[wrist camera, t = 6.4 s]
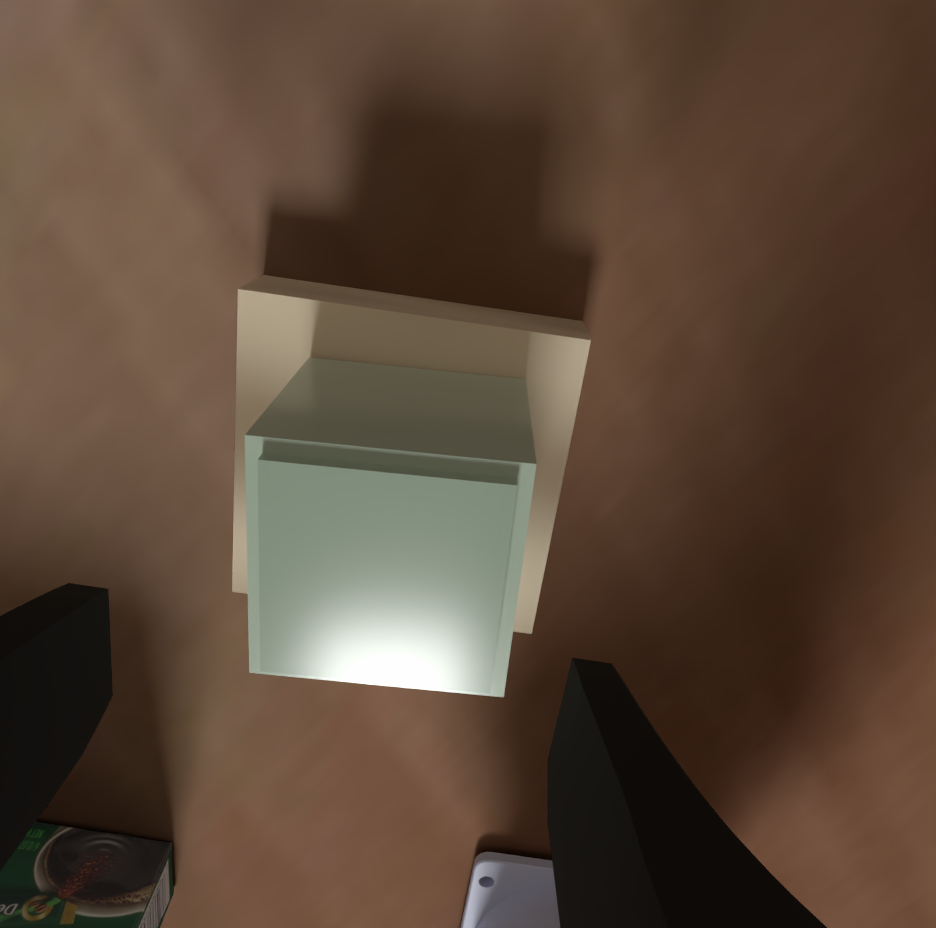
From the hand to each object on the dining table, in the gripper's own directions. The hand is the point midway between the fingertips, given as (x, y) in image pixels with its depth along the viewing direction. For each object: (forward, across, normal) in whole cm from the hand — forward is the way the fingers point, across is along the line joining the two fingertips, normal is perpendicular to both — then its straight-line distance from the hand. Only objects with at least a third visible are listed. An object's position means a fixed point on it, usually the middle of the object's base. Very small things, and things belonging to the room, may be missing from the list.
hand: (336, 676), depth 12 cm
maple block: (+10, 0, 0) cm, 10 cm away
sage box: (+8, 0, 0) cm, 8 cm away
